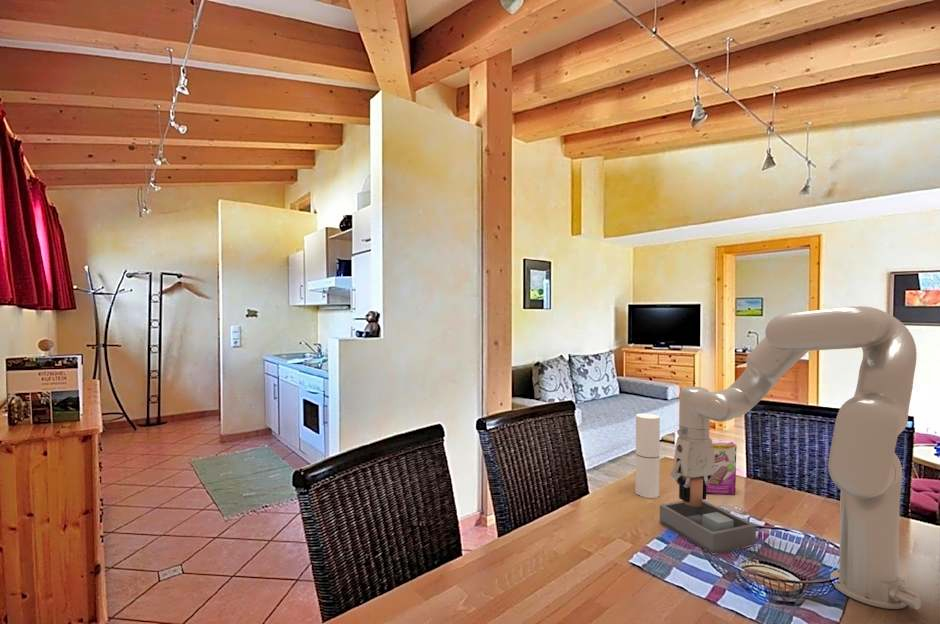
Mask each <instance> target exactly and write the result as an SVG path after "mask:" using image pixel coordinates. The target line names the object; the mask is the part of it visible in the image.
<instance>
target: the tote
mask: <svg viewBox="0 0 940 624" xmlns="http://www.w3.org/2000/svg"><path fill="white" fill-rule="evenodd" d="M714 512H718V513H720V514H722V515H724V516H726V517H728V518H730V519H732V520H734V526H733V528H729V529H724V530H719V531H714V532H712V531H710V530H709V529H707V528H705V527H703V526H702V515H703V514H709V513H714ZM659 524H661V525H663V526H664V527H666V528H667V529H669V530H671V531H672V532H674V533H675V534H678V536H679V535H680V537H682V538H684V539H686V540H687V541H689V542H691V543H692V544H694V545H696V546H697V547H699V546H701V547H702V548H704V549H706V550H707V551H709V552H711V553H713V554H714V553H719V554H724V553H727V552H731V551H732V550H733V551H736V550H735V549H737V550H741V549H740V548H742V547H746V546H749V545H754V544H756V542H757V541H756V539H757V536H756V535H757V529H756V528H757V525H755V524H753V523H751V522H749V521H747V520H745V519H743V518H741V517H738V516H736V515H735V514H732V513H730V512H729V511H726V510H725V509H723V508H721V507H719V506H716V505H714V504H712V503H709V502H708V501H706V500H703V503H702V506H700V507H694V506H689V505H686V504H684V503H683V502H682V500H680V501H674V502H668V503H663V504H659ZM756 545H757V544H756ZM702 548H701V549H702ZM738 548H739V549H738ZM746 548H747V547H746ZM704 549H703V550H704ZM742 549H743V548H742ZM707 551H706V552H707ZM709 552H708V553H709ZM723 552H724V553H723Z"/></svg>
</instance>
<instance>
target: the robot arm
mask: <svg viewBox="0 0 940 624" xmlns="http://www.w3.org/2000/svg"><path fill="white" fill-rule="evenodd" d="M859 348H861V349H862V360H861V363H860V366H859V370H858V377H857V378H858V379H857V384H856V388H855V392H854V395H853V397H851V398H849V399H847V400H846V401H845V402H843V404H842V405H841V407H840V408H839V409H838V413H837V415H836V418H835V423H834V428H833V434H832V439H831V440H832V441H831V445H830V451H829V457H828V463H827V464H828V465H827V466H828V468H827V469H828V474H829V477H830V478H831V480H832V482H833V484H834V485H835V486H836V487H837V488H838V489H839V490H840V496H839V497H840V500H839V502H840V503H839V559H838V560H839V568H838V569H835V570H833V571H832V572H831V573H830V574H829V579H830V578H833V577H839V579H838V581H837V583H835V587H834V588H835V589H836V590H837V591H839V592H841V594H843V595H845V596H847V597H849V598H851V599H853V600H856V601H857V602H861V603H863V604H866V605H869V606H873V607H877V608H880V609H888V610H900V609H904V608H906V607H907V606H909V608H910V607H911V608H913V609H914V610H916V611H917V610H919V609H921V606H922V601H921V595H920V594H918V593H916V592H915V591H912V590H908V589H907V587H905V582H906V581H905V579H904V578H901V577H899V561H900V560H899V559H900V558H899V556H900V555H899V550H900V549H899V546H900V544H899V543H900V542H899V541H900V506H901V505H900V501H901V492H902V483H903V467H902V464H901V463H902V462H901V460H900V458H899V457H898V455H897V453H896V452H895V451H896V446H897V440H898V437H899V435H900V434H902V432H904V430H905V429H906V427H907V425H908V420H909V412H910V411H909V410H910V403H911V400H912V398H911V397H912V393H913V392H912V391H913V387H914V386H913V385H914V378H915V371H916V366H917V357H918V356H917V354H918V353H917V346H916V343H915V339H914V337H913V335H912V332H910V331H909V328H907V326H906V325H905V324H904V323H903V322H902V321H900V320H899V319H898V318H896V317H895V316H893V315H891V314H889V313H888V312H886V311H884V310H881V309H879V308H875V307H871V306H864V305H863V306H861V305H860V306H858V305H857V306H842V307H833V308H832V307H831V308H826V309H825V308H823V309H818V310H817V309H815V310H808V311H807V310H806V311H799V312H785V313H780V314H777V315H775V316H774V317H773V318H772V319H769V322H767V324H766V327H765V337H764V338H762V340H760V342H758V344H757V345H756V346H755V347H753V349H752V350H751V351H750V352H749V353H748V354H747V355H746V357H745V363H746V367H745V369H744V371H743V372H742V373H741V374H740V376H739V377H737V379H736V380H734V382H733V383H732V384H731V385H730V386H728V387H727V388H726V389H721V390H718V391H717V390H716V391H710V390H709V389H707V388H705V387H701V386H695V385H694V386H688V385H687V386H683V387H681V388H680V390H679V402H678V403H679V404H678V405H679V407H678V410H679V413H678V430H677V431H676V433H677V435H678V437H677V439H676V442H675V449H674V456H673V457H674V459H673V460H674V461H673V462H674V463H673V468H672V470H671V472H670V473H669V476H670V477H671V478H673V479H674V480H675V482H676V484H677V485H679V487H678V489H679V490H678V491H679V492H678V495H679V496H678V498H679V499H680V500H681V501H682V500H683V501H685V502H690V488H689V487H688V485H689V481H690V478H695V477H702V478H703V500H704V501H706V499H707V493H706V485H708V483H709V482H708V480H709V479H710V478H711V475H712V474H713V473H714V472H715V468H714V450H713V444H712V440H713V439H712V438H711V437H710V428H711V427H710V421H715V422H720V423H721V422H722V423H723V422H728V421H730V420H733V419H735V418H740V417H742V416H744V415H746V414H748V412H749V411H751V410H752V409H753V408H754V407H755V406H756V405H758V404H759V402H761V400H762V399H764V398H765V396H766V395H767V394H768V393H769V392H770V391H771V390H772V389H773V387H774V386H775V385H777V383H778V381H779V380H780V379H781V378H782V377H783V375H785V374H786V373H787V372H788V371H789V370H790V369H791V368H793V366H794V365H795V364H796V363H798V362H799V361H800V360H801V359H802V358H803V357H804V356H805V355H807V354H808V352H810V351H826V350H827V351H828V350H829V351H830V350H845V349H846V350H848V349H859ZM683 477H685V480H683Z"/></svg>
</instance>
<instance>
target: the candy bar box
mask: <svg viewBox="0 0 940 624" xmlns="http://www.w3.org/2000/svg"><path fill="white" fill-rule="evenodd" d="M711 440H712V444H713V450H714V468H715V472H714V473H713V474H712V475H711V478H710V479H709V480H708V482H709V483H708V485H706V494H709V495H711V494H712V495H714V494H715V495H727V496H728V495H732V496H735V495H736V482H737V481H736V478H737V477H736V476H737V475H736V474H737V449H738V448H737V444H736V443H734V442H733V441H731V440H718V439H711Z"/></svg>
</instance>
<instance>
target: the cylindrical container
mask: <svg viewBox="0 0 940 624" xmlns="http://www.w3.org/2000/svg"><path fill="white" fill-rule="evenodd" d="M660 420H661V419H660V415H657V414H654V413H644V412H643V413H637V414H635V481H634V482H635V485H634V486H635V489H634V490H635V494H636V495H637V494H638V496H639V495H640V496H639V497H642V496H643V497H642V498H646V499H656V498H659V497H660V445H661V443H660V438H661V437H660V434H661V433H660V429H661V427H660V426H661V425H660V423H661V421H660ZM658 496H659V497H658Z"/></svg>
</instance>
